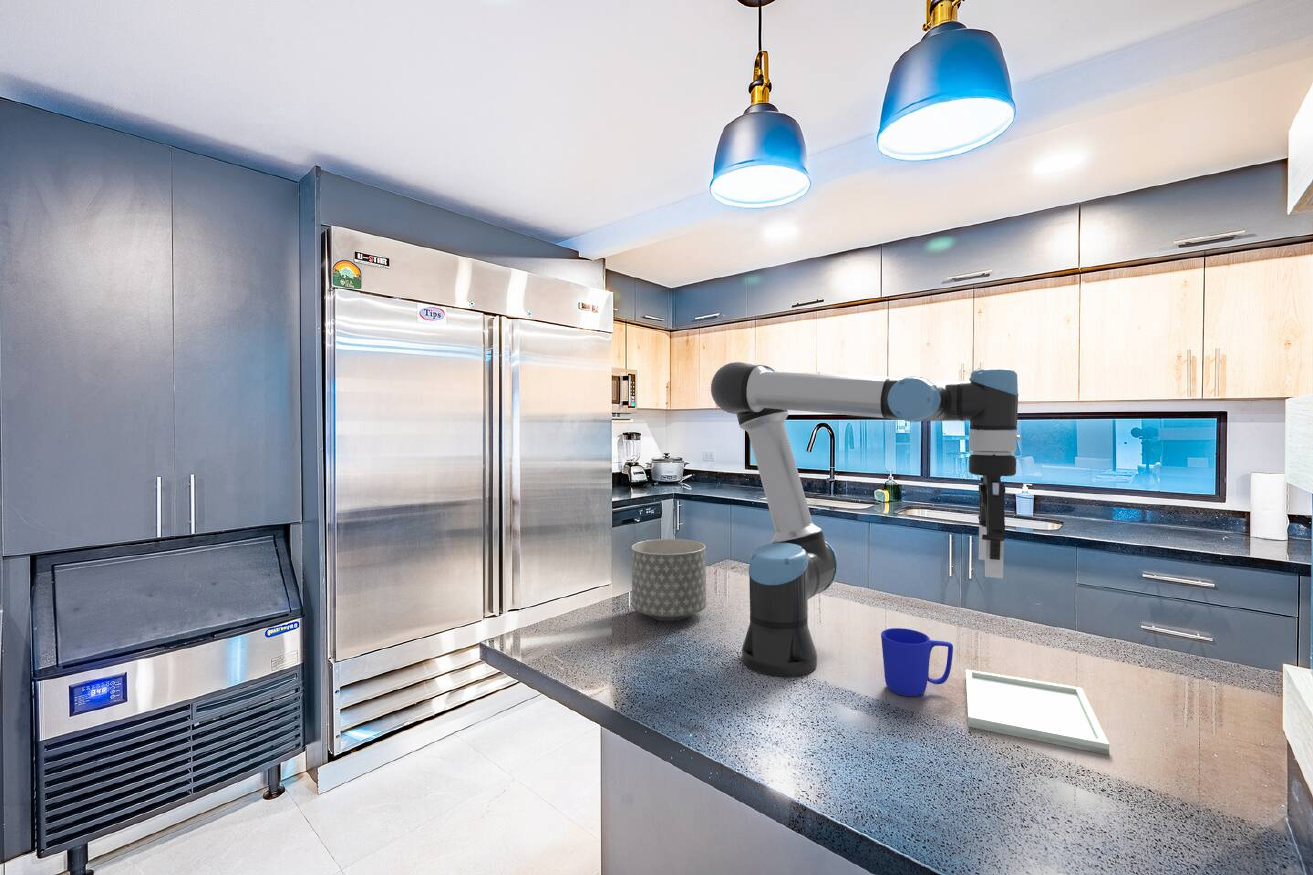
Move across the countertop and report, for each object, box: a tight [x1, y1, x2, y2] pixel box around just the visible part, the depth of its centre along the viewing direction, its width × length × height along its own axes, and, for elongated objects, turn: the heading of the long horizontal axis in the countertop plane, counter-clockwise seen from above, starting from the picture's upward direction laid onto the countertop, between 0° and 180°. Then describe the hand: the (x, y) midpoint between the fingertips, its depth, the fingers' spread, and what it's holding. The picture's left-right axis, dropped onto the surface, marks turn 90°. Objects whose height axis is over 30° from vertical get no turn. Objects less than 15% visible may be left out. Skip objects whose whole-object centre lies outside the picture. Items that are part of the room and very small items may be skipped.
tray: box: [965, 668, 1110, 756], centre depth 96 cm, size 18×20×2 cm
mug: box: [880, 627, 954, 697], centre depth 104 cm, size 8×12×10 cm
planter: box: [631, 538, 707, 622], centre depth 147 cm, size 19×19×18 cm
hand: (989, 568), depth 105 cm, fingers open, 13 cm apart
